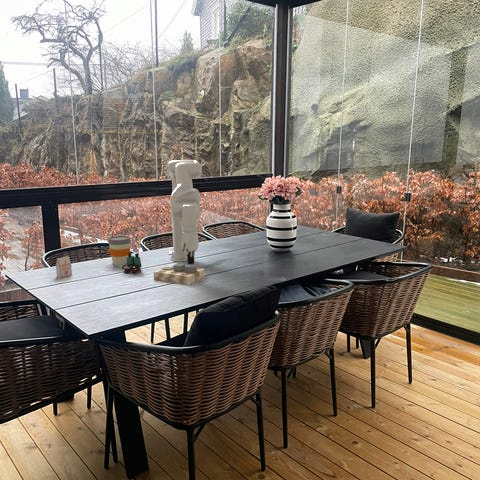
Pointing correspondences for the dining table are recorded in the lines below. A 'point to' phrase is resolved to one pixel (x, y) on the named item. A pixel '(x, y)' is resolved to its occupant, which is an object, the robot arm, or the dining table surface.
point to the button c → (191, 269)
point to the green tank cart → (132, 264)
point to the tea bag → (63, 267)
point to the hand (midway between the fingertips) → (190, 263)
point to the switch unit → (178, 275)
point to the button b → (179, 267)
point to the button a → (168, 268)
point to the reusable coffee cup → (119, 249)
